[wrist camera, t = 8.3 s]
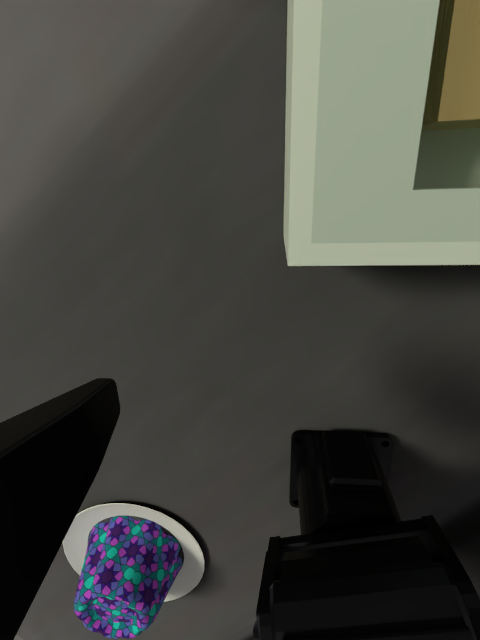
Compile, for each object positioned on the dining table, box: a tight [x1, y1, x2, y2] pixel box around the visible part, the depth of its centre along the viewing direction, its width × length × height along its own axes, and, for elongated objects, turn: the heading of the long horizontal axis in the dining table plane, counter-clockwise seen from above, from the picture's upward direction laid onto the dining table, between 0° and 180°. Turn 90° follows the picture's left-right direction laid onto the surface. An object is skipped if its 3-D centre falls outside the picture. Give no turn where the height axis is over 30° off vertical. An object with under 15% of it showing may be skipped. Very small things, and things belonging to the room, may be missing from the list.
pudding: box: [63, 503, 205, 639], centre depth 28 cm, size 12×12×5 cm
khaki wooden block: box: [421, 0, 480, 131], centre depth 14 cm, size 4×3×4 cm
